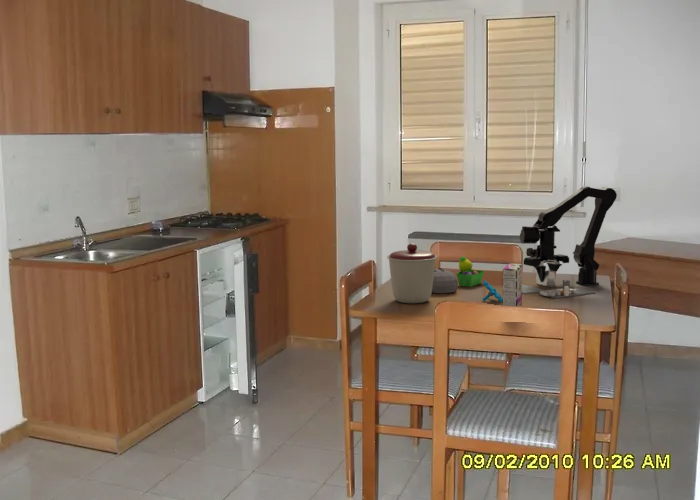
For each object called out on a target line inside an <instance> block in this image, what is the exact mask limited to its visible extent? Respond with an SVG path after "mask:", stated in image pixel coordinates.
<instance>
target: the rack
mask: <svg viewBox="0 0 700 500" xmlns="http://www.w3.org/2000/svg"><path fill="white" fill-rule="evenodd" d="M570 283H571V280H570V279H563V280H562V287H561V288H555V289H547V290H546V289H544V290H545V291H540V292H539V293H540V294H541V295H540V294H539V295H540V296H543V295H544V297H547V296H555V295H557V296H560V295H564V286H569V294H571V293H573V294H576V290H574V289H575V288H571V287H570V286H571V284H570Z"/></svg>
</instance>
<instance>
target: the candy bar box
mask: <svg viewBox="0 0 700 500" xmlns="http://www.w3.org/2000/svg"><path fill="white" fill-rule="evenodd" d="M522 285H523V264H521V263H508V264H506V266H504V267H503V269H502V298H503V302H502V306H503V305H505V306H522V307H523V294H522Z"/></svg>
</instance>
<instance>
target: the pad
mask: <svg viewBox="0 0 700 500" xmlns="http://www.w3.org/2000/svg"><path fill="white" fill-rule="evenodd" d="M545 290H546V289H542V288H538V287H535V286H530V285H527V284H522V295H528V294H529V295H530V294H536V293H537V294H538V293H540V291H545Z"/></svg>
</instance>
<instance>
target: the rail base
mask: <svg viewBox="0 0 700 500" xmlns="http://www.w3.org/2000/svg"><path fill="white" fill-rule="evenodd" d="M573 289H574V290H576V294H573V293H571V294H569V286H564V295H560V296H557V295H555V296H546V297H548V298H551V299H562V298H570V297H571V298H572V297H579V296H586V295H594V294H596V292H595V291H591V290H587V289H583V288H577V287H576V288H573ZM538 295H540V296H544V295H541V294H540V292H538ZM544 297H545V296H544Z"/></svg>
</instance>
